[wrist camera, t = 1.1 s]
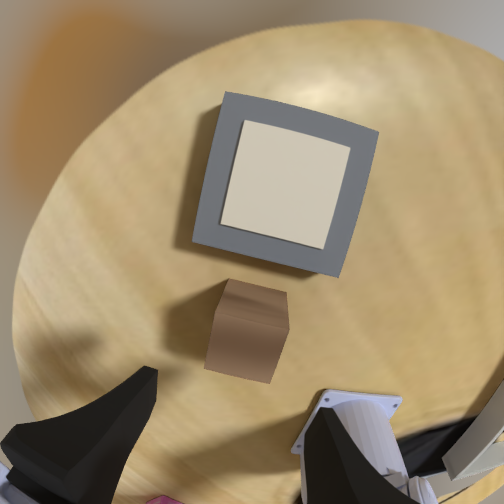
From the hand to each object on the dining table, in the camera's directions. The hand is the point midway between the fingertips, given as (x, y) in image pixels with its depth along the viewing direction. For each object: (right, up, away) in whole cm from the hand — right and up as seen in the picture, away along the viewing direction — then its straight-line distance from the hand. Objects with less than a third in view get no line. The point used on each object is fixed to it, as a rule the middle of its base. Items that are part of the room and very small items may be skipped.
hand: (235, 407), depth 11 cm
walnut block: (+1, +3, +9) cm, 10 cm away
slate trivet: (+3, +11, +6) cm, 13 cm away
